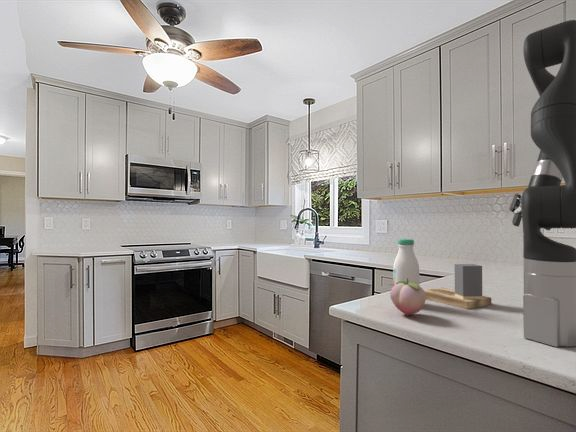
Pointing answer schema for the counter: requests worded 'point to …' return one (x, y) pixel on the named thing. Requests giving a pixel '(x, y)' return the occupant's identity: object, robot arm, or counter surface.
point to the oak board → (455, 298)
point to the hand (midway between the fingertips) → (530, 227)
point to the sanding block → (468, 281)
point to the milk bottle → (406, 263)
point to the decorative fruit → (408, 297)
